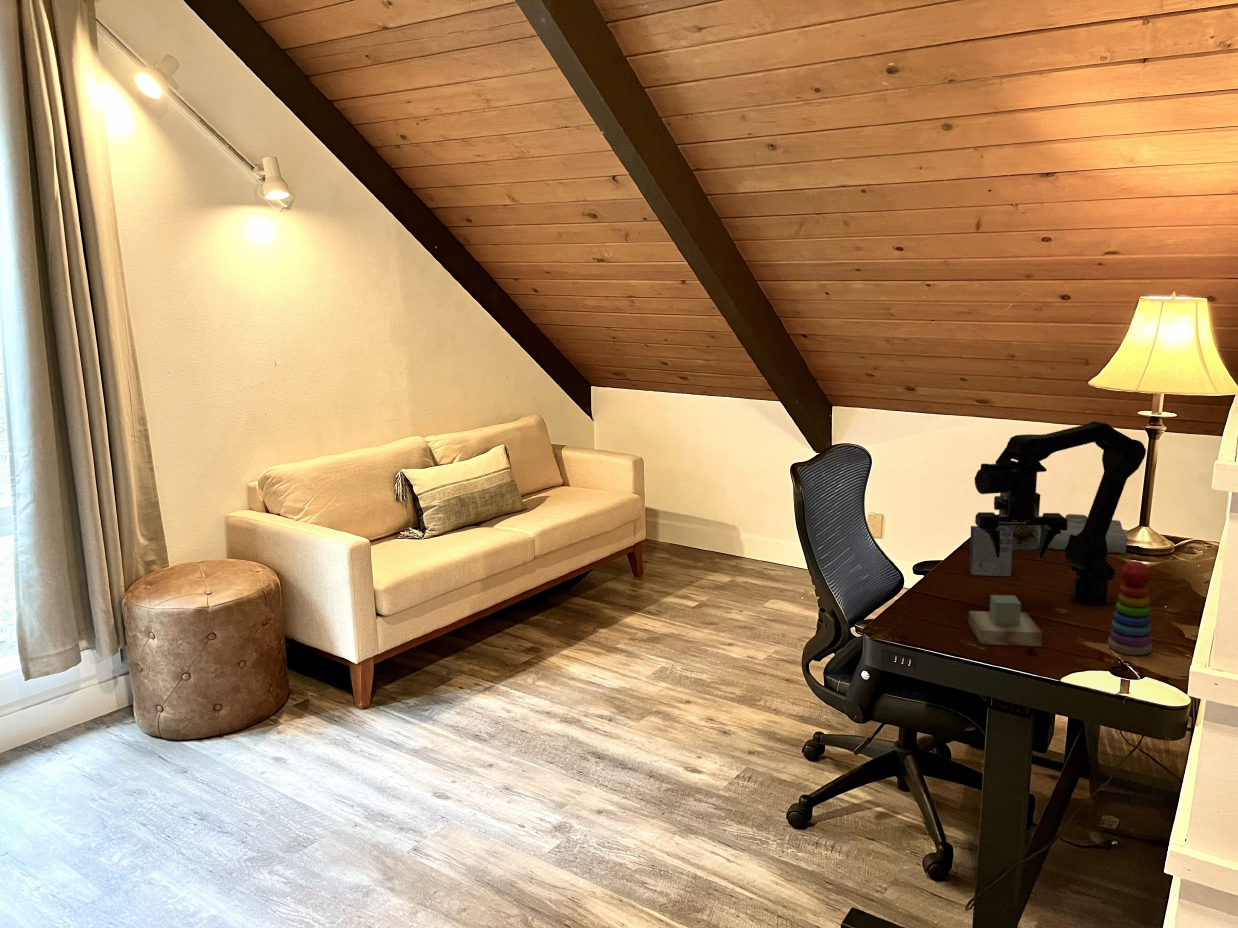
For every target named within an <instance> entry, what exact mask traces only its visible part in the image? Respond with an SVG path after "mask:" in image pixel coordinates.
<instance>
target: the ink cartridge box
mask: <svg viewBox="0 0 1238 928" xmlns="http://www.w3.org/2000/svg"><path fill="white" fill-rule="evenodd" d="M997 529H998V530H999V531H1000V554H999V558H997V557H996V554H995V551H994V547H993V544H992V541H991V538H990V536H989V534H988V533H986V532H985V531H984V530H983V529H980V528H979V527H978V526H977V525H970V542H969V543H970V547H969V548H970V549H969V550H970V551H969V573H970V575H971V576H987V577H989V576H991V577H992V576H993V577H1011V576H1012V563H1013V561H1012V559H1013V550H1012V544H1013V530H1012V529H1011V528H1010V527H1009V526H998V527H997Z"/></svg>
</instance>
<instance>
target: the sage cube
mask: <svg viewBox="0 0 1238 928" xmlns="http://www.w3.org/2000/svg"><path fill="white" fill-rule="evenodd" d="M989 599H990V600H989V612H990V614H989V617H990V619H991V620H992V622H993V623H994V625H1004V626H1020V613H1021V608H1022V603H1021V601H1020V600H1019V599H1018V598H1017V596H1016V595H1012V594H1011V595H1009V594H1007V595H1004V594H990V595H989Z"/></svg>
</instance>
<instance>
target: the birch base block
mask: <svg viewBox="0 0 1238 928" xmlns="http://www.w3.org/2000/svg"><path fill="white" fill-rule="evenodd" d="M989 614H990V610H989V611H983V610H982V611H981V610H980V611H979V610H968V625H969V627H970V629H971V630H972V632H973V634H974V636H975V637H976V639H977V641H978V642H979V644H980V645H990V646H992V645H993V646H994V645H995V646H1020V647H1021V646H1022V647H1023V646H1024V647H1025V646H1026V647H1042V638H1043V632H1042V630H1041V629H1040V628H1039V627H1038V626H1037V624H1036V623H1035V622H1034V620H1033V619H1032V618H1031V617H1030V615H1029V614H1028V613H1027V612H1021V613H1020V626H1004V625H994V623H993V622H992V620H991V619H990V617H989Z"/></svg>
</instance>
